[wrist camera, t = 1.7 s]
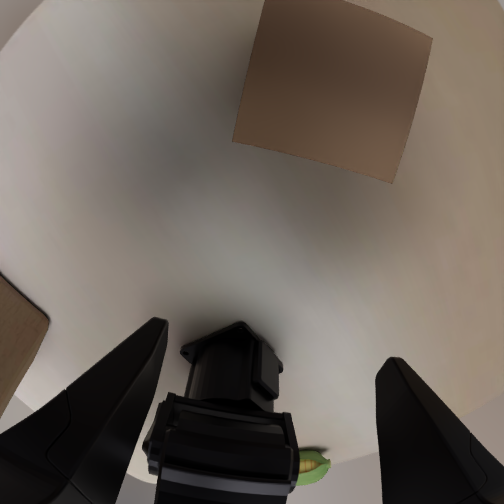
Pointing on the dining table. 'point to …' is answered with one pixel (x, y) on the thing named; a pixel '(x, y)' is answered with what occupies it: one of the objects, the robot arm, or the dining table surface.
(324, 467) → the edible corn
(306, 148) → the walnut block
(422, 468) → the robot arm
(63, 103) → the dining table surface
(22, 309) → the wooden block
